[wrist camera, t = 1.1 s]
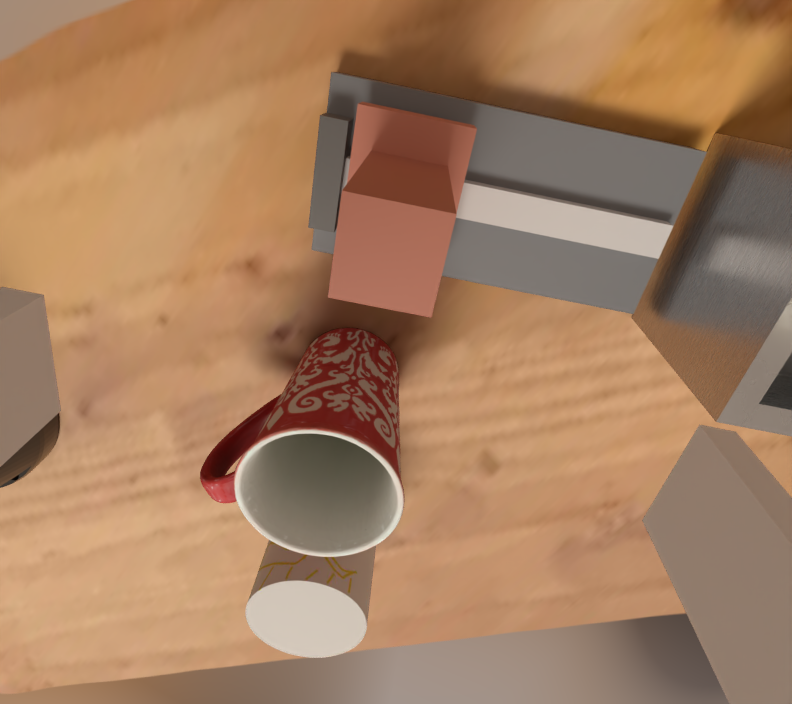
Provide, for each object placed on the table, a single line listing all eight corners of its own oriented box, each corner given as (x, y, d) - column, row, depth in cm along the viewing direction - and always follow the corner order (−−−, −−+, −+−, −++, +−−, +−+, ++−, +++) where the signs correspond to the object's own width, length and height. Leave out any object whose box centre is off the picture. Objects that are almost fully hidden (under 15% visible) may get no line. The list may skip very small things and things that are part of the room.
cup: (379, 456, 43) (363, 582, 32) (383, 527, 47) (369, 659, 36) (283, 455, 43) (235, 578, 33) (294, 524, 47) (255, 655, 37)
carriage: (342, 247, 31) (296, 338, 20) (362, 101, 27) (319, 121, 17) (439, 266, 31) (445, 367, 21) (474, 125, 27) (501, 159, 17)
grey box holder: (631, 317, 36) (716, 421, 25) (720, 120, 29) (882, 148, 19) (742, 339, 36) (872, 451, 25) (853, 149, 30) (1084, 192, 19)
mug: (397, 303, 36) (381, 417, 24) (422, 408, 40) (419, 549, 28) (230, 334, 38) (140, 453, 26) (270, 431, 42) (209, 572, 30)
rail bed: (317, 240, 34) (304, 260, 31) (337, 72, 29) (324, 72, 26) (623, 301, 35) (644, 327, 32) (690, 147, 30) (725, 157, 27)
